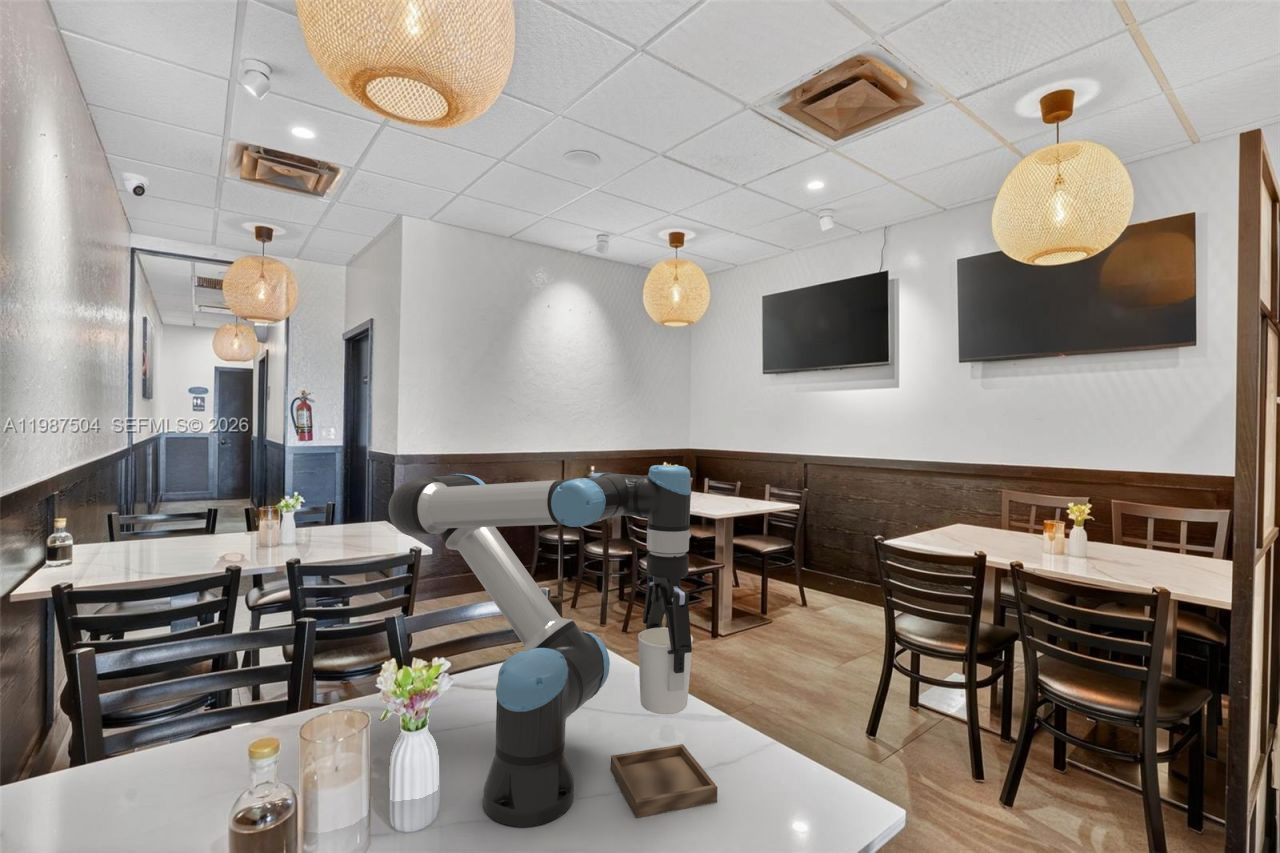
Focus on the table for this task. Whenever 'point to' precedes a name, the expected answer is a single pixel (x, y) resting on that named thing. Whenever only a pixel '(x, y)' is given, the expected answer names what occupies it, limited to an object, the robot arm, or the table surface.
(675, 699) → the candle holder
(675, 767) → the tray
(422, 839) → the table surface
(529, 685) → the robot arm
